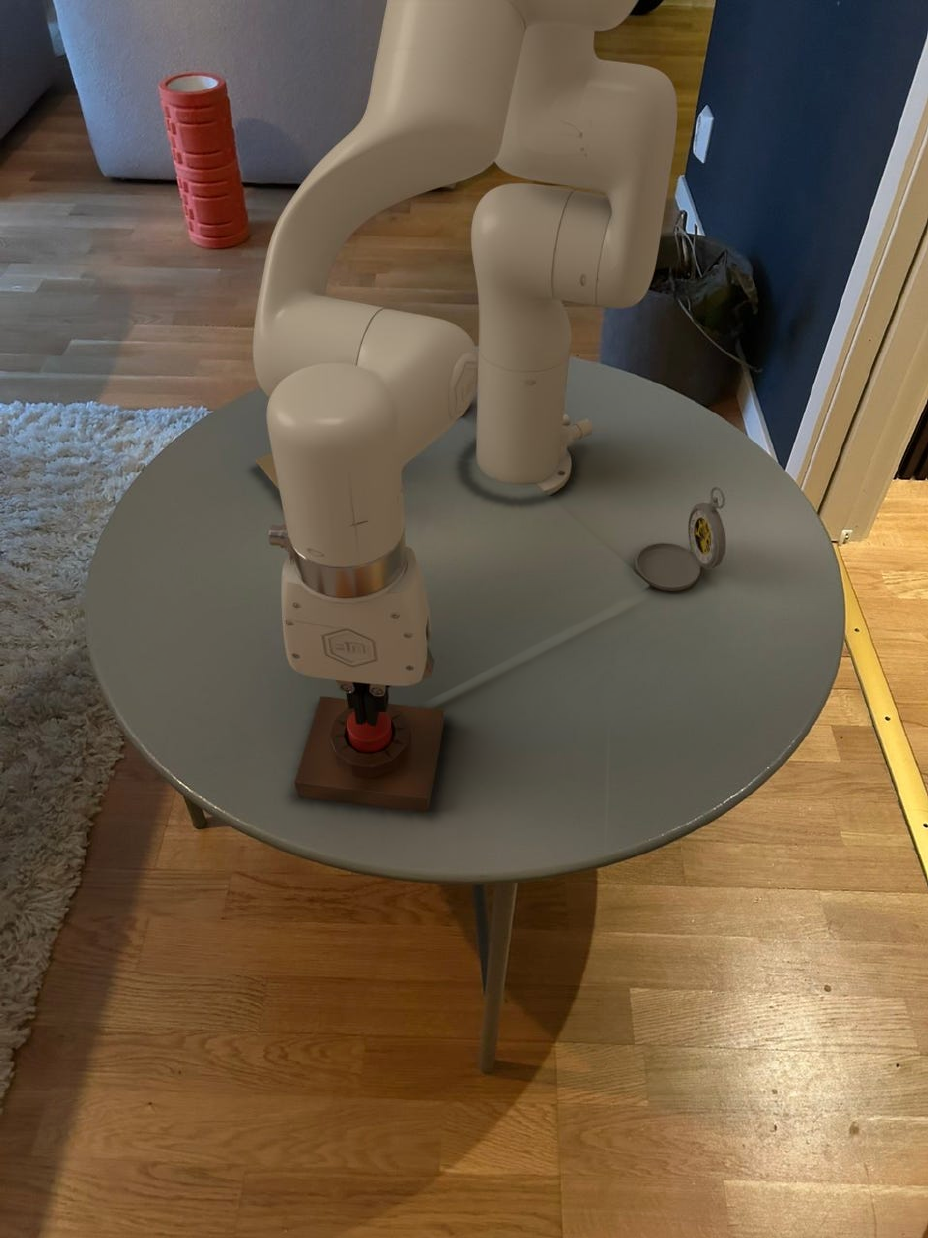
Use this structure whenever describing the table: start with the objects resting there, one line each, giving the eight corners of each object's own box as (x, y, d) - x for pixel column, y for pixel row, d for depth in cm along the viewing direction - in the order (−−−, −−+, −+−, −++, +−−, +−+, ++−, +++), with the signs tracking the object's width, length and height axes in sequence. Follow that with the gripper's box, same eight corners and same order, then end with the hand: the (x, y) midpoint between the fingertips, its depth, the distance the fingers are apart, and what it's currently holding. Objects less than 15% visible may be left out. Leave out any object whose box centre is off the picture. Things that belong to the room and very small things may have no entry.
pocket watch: (621, 572, 94) (635, 497, 86) (667, 532, 98) (685, 457, 91) (688, 611, 90) (709, 537, 83) (732, 568, 94) (756, 494, 87)
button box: (297, 797, 75) (291, 770, 72) (322, 710, 81) (318, 683, 79) (428, 812, 75) (427, 786, 72) (443, 724, 81) (443, 696, 78)
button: (344, 750, 74) (342, 738, 73) (353, 715, 77) (352, 703, 75) (387, 755, 74) (386, 743, 73) (395, 720, 76) (394, 707, 75)
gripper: (222, 577, 58) (267, 739, 72) (453, 600, 57) (454, 760, 70) (255, 500, 63) (291, 665, 77) (468, 519, 62) (467, 684, 75)
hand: (369, 710), depth 73 cm, fingers closed
